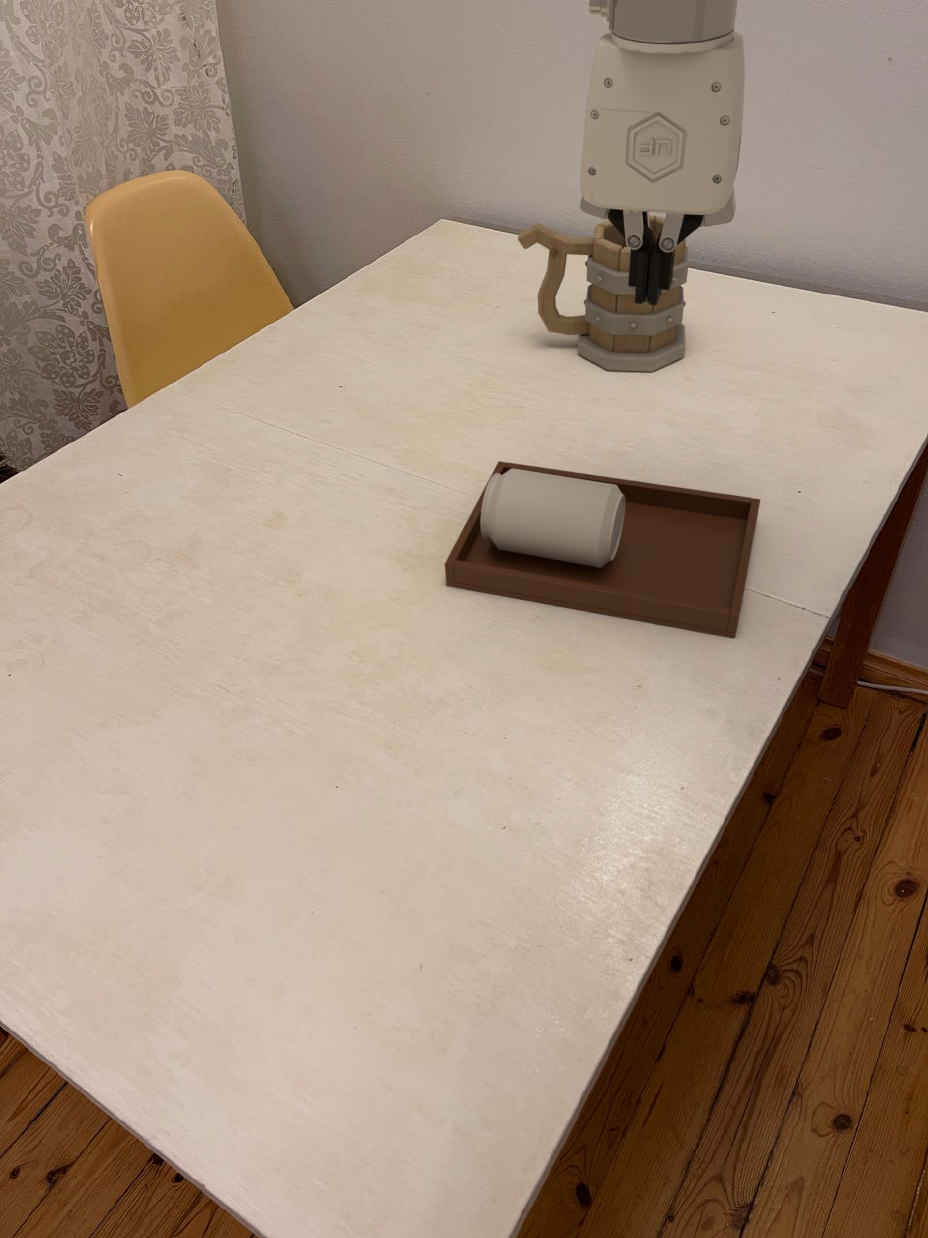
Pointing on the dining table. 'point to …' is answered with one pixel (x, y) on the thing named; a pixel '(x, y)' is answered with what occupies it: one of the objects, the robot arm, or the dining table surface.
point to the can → (553, 516)
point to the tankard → (613, 300)
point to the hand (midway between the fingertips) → (649, 296)
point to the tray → (631, 559)
